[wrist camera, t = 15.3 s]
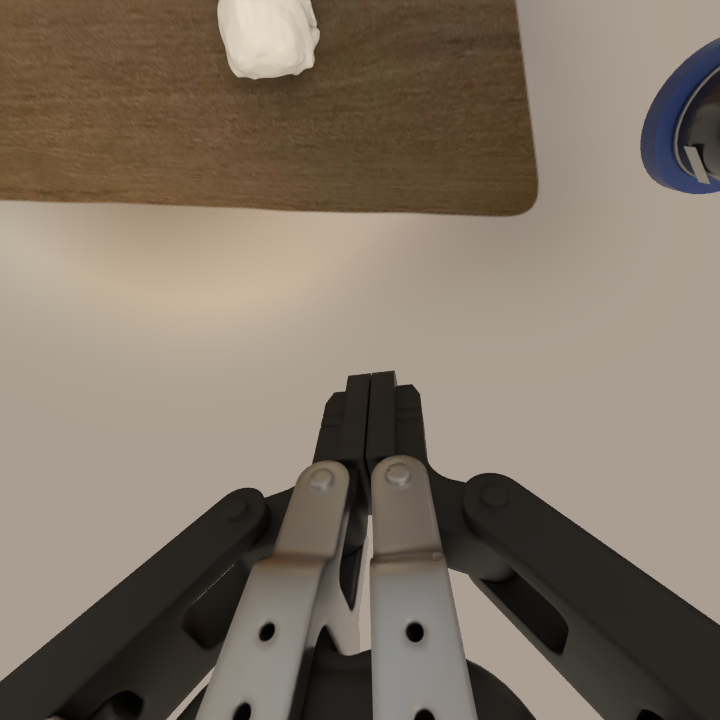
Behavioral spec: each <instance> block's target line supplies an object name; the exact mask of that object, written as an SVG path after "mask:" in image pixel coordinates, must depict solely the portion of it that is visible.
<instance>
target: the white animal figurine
mask: <svg viewBox="0 0 720 720" xmlns="http://www.w3.org/2000/svg"><path fill="white" fill-rule="evenodd" d="M217 13H218V24H219V30H220V34H221V37H222V40H223V42H224V45H225V48H226V53H227V59H228V63H229V66H230V68H231V70H232V71H233V73H234V74H235V75H236V76H237V77H248V78H251V79H254V80H256V79H258V78H276V77H280V76H283V75H288V74H293V75H298V74H300V73H301V72H302V71H303V70H304V69H307V68H312V67H313V64H314V62H315V56H314V52H313V51H314V49H315V47H316V45H317V43H318V41H319V38H320V31H319V29H318V28H317V27H316V26H317V21H316V19H315V16H314V12H313V9H312V4H311V0H219V3H218V9H217ZM309 25H310V26H309Z"/></svg>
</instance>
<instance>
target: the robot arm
mask: <svg viewBox="0 0 720 720" xmlns="http://www.w3.org/2000/svg"><path fill="white" fill-rule="evenodd" d="M671 149H672V155H673V158H674V161H675V163H676V164H677V166H678V167H679V168H680V169H681V170H682V171H683V172H684V173H685V174H687V175H689V176H691V177H694V178H697V180H698V182H701V183H706V184H710V182H709V180H715V181H720V64H719V65H718V66H716V67H715V68H714V69H713V70H711V71H710V72H709V73H708V74H707V75H706V76H705V77H704V78H703V79H702V80H701V81H700V82H699V83H698V84H697V85H696V87H695V88H694V89H693V90H692V92H691V93H690V94H689V96H688V97H687V99H686V100H685V102H684V104H683V105H682V107H681V109H680V111H679V113H678V116H677V118H676V121H675V124H674V127H673V131H672V138H671ZM368 515H372V521H373V522H372V523H373V549H374V550H373V558H371V561H370V611H371V650H367V651H364V652H361V653H360V633H359V610H360V603H361V595H362V587H363V580H364V571H365V564H366V557H367V549H368V536H367V523H368ZM232 565H233V566H232ZM229 568H230V569H229ZM448 568H450V569H453V570H456V571H459V572H462V573H466V574H468V575H469V577H470V578H471V580H472V581H473V582H474V584H475V585H476V586H477V587H478V588H479V589H480V590H481V591H482V592H483V593H484V594H485V595H486V596H487V597H488V598H489V599H490V600H491V601H492V602H493V603H494V604H495V606H496V607H497V608H498V609H499V610H500V611H501V612H502V613H503V614H504V615H505V616H506V617H507V618H508V619H509V620H510V621H511V622H512V623H513V624H514V625H515V627H516V628H517V629H518V630H519V631H520V632H521V633H522V634H523V635H524V636H525V637H526V638H527V639H528V640H529V641H530V642H531V643H532V644H533V645H534V646H535V648H537V650H538V651H539V652H540V653H541V654H542V655H543V656H544V657H545V658H546V659H547V660H548V661H549V662H550V663H551V664H552V665H553V666H554V667H555V668H556V669H557V670H558V671H559V673H560V674H561V675H562V676H563V677H564V678H565V679H566V680H567V681H568V682H569V683H570V684H571V685H572V686H573V687H574V688H575V689H576V690H577V692H578V693H579V694H580V695H581V696H582V697H583V698H584V699H585V700H586V701H587V702H588V703H589V704H590V705H591V706H592V707H593V708H594V709H595V710H596V711H597V712H598V713H599V714H600V716H601V717H602V718H603V719H604V720H720V625H719V624H717V623H716V622H714V621H713V620H712V619H710V618H709V617H707V616H706V615H705V614H703V613H702V612H700V611H699V610H697V609H696V608H695V607H693V606H692V605H690V604H689V603H687V602H686V601H684V600H683V599H682V598H680V597H678V595H676V594H675V593H673V592H672V591H671V590H669V589H668V588H666V587H665V586H663V585H662V584H661V583H659V582H658V581H656V580H655V579H653V578H652V577H651V576H649V575H648V574H646V573H645V572H644V571H642V570H641V569H639V568H638V567H636V566H635V565H634V564H632V563H631V562H629V561H628V560H627V559H625V558H623V557H622V556H621V555H619V554H618V553H616V552H615V551H614V550H612V549H611V548H609V547H608V546H607V545H605V544H604V543H602V542H601V541H600V540H598V539H597V538H595V537H594V536H592V535H591V534H590V533H588V532H587V531H585V530H584V529H583V528H581V527H580V526H578V525H577V524H575V523H574V522H573V521H571V520H570V519H568V518H567V517H565V516H564V515H563V514H561V513H560V512H558V511H557V510H556V509H554V508H553V507H551V506H550V505H548V504H547V503H546V502H544V501H543V500H541V499H540V498H539V497H537V496H536V495H534V494H533V493H531V492H530V491H529V490H527V489H526V488H524V487H523V486H521V485H520V484H519V483H517V482H516V481H514V480H513V479H511V478H509V477H507V476H504V475H501V474H496V473H484V474H479V475H477V476H474V477H473V478H471V479H470V480H469V481H467V482H466V483H465V482H460V481H455V480H451V479H448V478H446V477H443V476H441V475H440V474H438V473H437V472H436V471H434V470H433V469H432V467H431V466H430V465H429V463H428V459H427V450H426V440H425V431H424V423H423V415H422V407H421V399H420V394H419V392H418V391H417V390H416V389H415V387H414V386H413V385H412V384H410V385H401V386H397V381H396V375H395V371H386V372H378V373H372V375H371V373H369V374H361V375H352V376H348V380H347V387H346V391H345V392H336V393H334V394H333V395H332V396H331V398H330V399H329V400H328V402H327V403H326V406H325V410H324V415H323V419H322V423H321V428H320V432H319V437H318V441H317V445H316V450H315V455H314V459H313V463H312V465H311V466H309V467H308V468H306V469H305V470H304V471H303V472H302V473H301V475H300V476H299V478H298V480H297V482H296V485H295V486H294V487H292V488H290V489H288V490H285V491H283V492H280V493H277V494H274V495H271V496H269V497H266V498H264V496H263V494H262V493H261V492H260V491H259V490H257V489H254V488H242V489H238V490H235V491H233V492H231V493H229V494H228V495H226V496H225V497H224V498H222V499H221V500H220V501H219V502H218V503H216V504H215V505H214V506H213V507H211V508H210V509H209V510H208V511H207V512H206V513H205V514H203V515H202V516H201V517H199V518H198V519H197V520H196V521H195V522H194V523H192V524H191V525H190V526H188V527H187V528H186V529H185V530H184V531H182V532H181V533H180V534H179V535H178V536H176V537H175V538H174V539H173V540H171V541H170V542H169V543H168V544H167V545H165V546H164V547H163V548H162V549H161V550H160V551H158V552H157V553H156V554H154V555H153V556H152V557H151V558H150V559H148V560H147V561H146V562H145V563H144V564H142V565H141V566H140V567H139V568H138V569H136V570H135V571H134V572H133V573H131V574H130V575H129V576H128V577H127V578H125V579H124V580H123V581H122V582H121V583H119V584H118V585H117V586H116V587H114V588H113V589H112V590H111V591H110V592H108V593H107V594H106V595H105V596H104V597H102V598H101V599H100V600H99V601H98V602H96V603H95V604H94V605H93V606H91V607H90V608H89V609H88V610H87V611H86V612H84V613H83V614H82V615H81V616H79V617H78V618H77V619H76V620H74V621H73V622H72V623H71V624H70V625H68V626H67V627H66V628H65V629H64V630H62V631H61V632H60V633H59V634H57V635H56V636H55V637H54V638H53V639H51V640H50V641H49V642H48V643H47V644H46V645H44V646H43V647H42V648H41V649H39V650H38V651H37V652H36V653H35V654H33V655H32V656H31V657H30V658H28V659H27V660H26V661H25V662H24V663H22V664H21V665H20V666H19V667H17V668H16V669H15V670H14V671H13V672H11V673H10V674H9V675H8V676H7V677H6V678H4V679H3V680H2V681H1V682H0V720H166V719H167V718H168V717H169V716H170V715H171V713H172V712H173V711H174V710H175V709H176V708H177V707H178V706H179V705H180V703H181V702H182V701H183V700H184V699H185V698H186V697H187V696H188V695H189V694H190V692H191V691H192V690H193V689H194V688H195V687H196V686H197V685H198V684H199V683H200V682H201V680H202V679H203V678H204V677H205V676H206V675H207V674H208V673H209V671H210V670H211V669H212V668H213V667H214V666H215V668H214V671H213V674H212V676H211V679H210V681H209V683H208V685H206V686H205V687H204V688H203V689H202V690H201V691H200V692H199V694H198V695H197V696H196V697H195V698H194V699H193V700H192V702H191V703H190V704H189V705H188V706H187V708H186V709H185V710H184V711H183V712H182V713H181V715H180V716H179V717H178V718H177V719H176V720H536V719H535V717H534V716H533V715H532V714H531V712H530V711H529V710H528V708H527V707H526V706H525V705H524V704H523V703H522V701H521V700H520V699H519V698H518V697H517V696H516V695H515V694H514V693H513V692H512V691H511V690H510V689H509V688H508V686H506V685H505V684H504V683H503V682H502V681H501V680H499V679H498V678H497V677H496V676H495V675H493V674H492V673H490V672H489V671H487V670H486V669H484V668H483V667H481V666H479V665H477V664H475V663H473V662H471V661H469V660H467V659H466V658H465V653H464V649H463V643H462V639H461V633H460V628H459V623H458V618H457V613H456V608H455V603H454V598H453V593H452V588H451V583H450V578H449V573H448ZM228 569H229V570H228ZM227 570H228V571H227ZM226 571H227V572H226ZM225 572H226V573H225ZM224 573H225V574H224ZM223 574H224V575H223ZM222 575H223V576H222ZM221 576H222V577H221ZM220 577H221V578H220ZM219 578H220V579H219ZM218 579H219V580H218ZM217 580H218V581H217ZM216 581H217V582H216ZM215 582H216V583H215ZM214 583H215V584H214ZM213 584H214V585H213ZM205 591H206V592H205ZM204 592H205V593H204ZM203 593H204V594H203ZM202 594H203V595H202ZM201 595H202V596H201ZM200 596H201V597H200ZM199 597H200V598H199ZM198 598H199V599H198ZM197 599H198V600H197ZM196 600H197V601H196ZM195 601H196V602H195ZM194 602H195V603H194Z"/></svg>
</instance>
